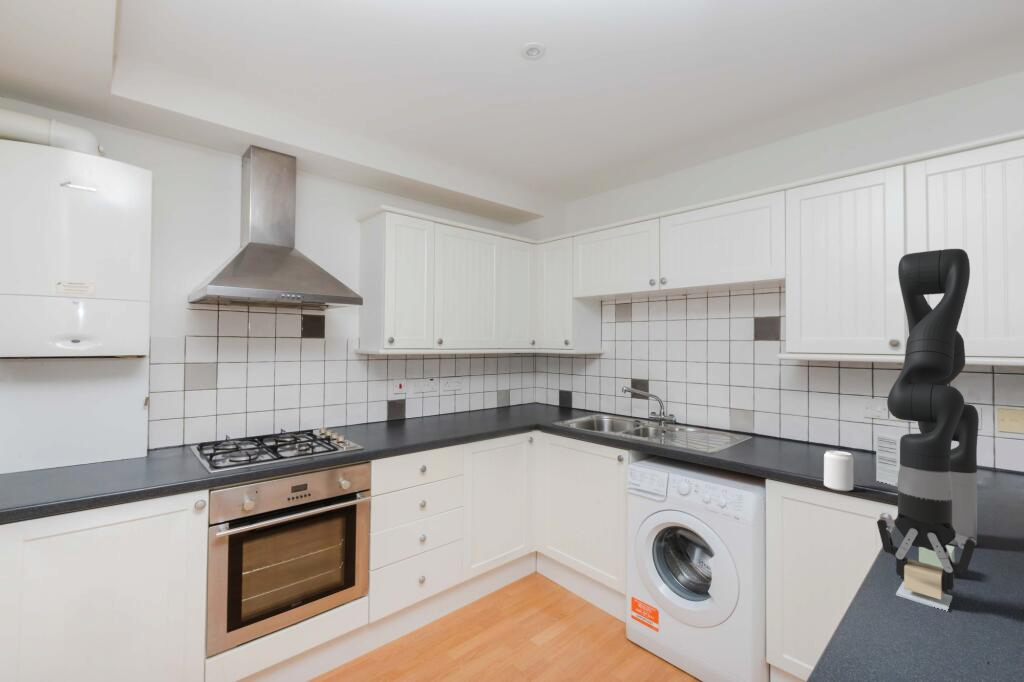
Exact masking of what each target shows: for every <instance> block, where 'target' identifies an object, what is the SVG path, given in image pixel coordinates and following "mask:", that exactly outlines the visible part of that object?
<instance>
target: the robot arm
mask: <svg viewBox="0 0 1024 682" xmlns="http://www.w3.org/2000/svg"><path fill="white" fill-rule="evenodd" d="M897 270H898V271H897V273H898V281H899V282H898V283H899V287H900V291H901V297H902V301H903V303H904V304H903V305H904V309H905V313H906V318H907V319H906V320H907V326H908V337H907V339H906V344H905V352H904V353H905V354H904V361H903V366H902V368H901V371H900V373H899V375H898V377H897V378H896V381H894V383H893V385H892V387H891V388H890V391H889V392H888V397H887V399H886V402H887V403H886V404H887V405H886V406H887V409H888V411H889V413H890V414H891V415H892V416H893V417H895V418H896V419H899V420H902V421H907V422H908V421H910V422H917V425H918V429H919V432H920V433H907V434H904V435H903V434H902V435H903V436H902V437H901V439H900V468H899V473H898V482H897V486H896V487H897V516H896V518H895V519H891V518H890V519H889V518H886V517H880V518H879V519H878V520H877V522H876V524H877V528H878V532H879V536H880V539H881V541H880V542H881V543H882V544H881V545H882V548H883V551H884V552H886V553H889V554H891V555H893V556H894V557H895V559H896V561H895V563H896V565H895V569H896V571H895V572H896V575H897V576H899V577H900V580H902V581H904V566H905V565H906V563H907V561H908V557H907V553H908V551H909V550H910V548H911V547H915V548H919V547H924V548H926V549H928V550H932V551H935V552H936V555H937V557H938V558H939V560H940V562H941V564H942V566H943V571H942V591H943V592H944V593H945V594H946V593H947V594H948V593H949V592H950V591H953V590H954V588H955V573H965V574H966V572H967V571H968V569H969V565H970V563H971V559H972V557H973V553H974V551H975V548H976V546H978V462H977V460H978V457H977V456H978V455H977V453H978V451H977V450H978V449H977V446H978V438H979V437H978V435H979V422H980V421H979V420H980V419H979V418H980V417H979V413H978V410H977V408H976V407H975V406H974V405H972V404H968V403H965V398H964V396H963V394H962V392H960V390H958V388H956V387H954V386H952V385H949V384H951V382H953V381H954V380H955V379H956V378H957V377H958V376H959V375H960V374H961V373H962V371H963V370H964V367H965V366H966V351H965V340H964V338H963V336H962V335H961V333H960V332H959V331H958V327H959V323H960V319H961V315H962V313H963V309H964V304H965V299H966V296H967V292H968V288H969V284H970V277H971V276H970V275H971V266H970V259H969V255H968V253H967V251H965V250H964V249H962V248H947V249H938V250H937V249H936V250H928V251H920V252H912V253H908V254H904V255H903V256H902V257H901V258H900V260H899V262H898V268H897ZM941 294H943V295H942V298H941V300H940V301H939V302H938V303H937V304H936V305H935V307H933V308H932V307H931V306H930V304H929V302H928V301H927V299H926V297H925V296H926V295H927V296H928V295H941ZM952 441H953V442H957V443H958V445H957V446H956V447H953V448H952V449H951V447H952ZM894 526H895V527H896V529H897V530H898V531H899V532H900V534H901V535H902V536H903V538H904V539H903V540H902V541H901V544H900V545H899V547H897V546H895V545H894V540H893V538H892V534H891V532H892V531H893V530H894ZM948 544H950V545H955V546H958V547H959V549H962V553H961V556H960V558H959V561H954V562H952V560H951V557H950V555H949V552H948V550H947V547H946V545H948Z"/></svg>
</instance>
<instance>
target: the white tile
mask: <svg viewBox="0 0 1024 682" xmlns="http://www.w3.org/2000/svg"><path fill="white" fill-rule="evenodd" d="M896 596H897V597H901V598H903V599H907V600H909V601H912V602H916V603H918V604H922V605H925V606H928V607H931V608H934V607H935V608H934V609H937V608H939V609H938V610H941V609H943V610H942V611H944V610H946V611H945V612H947V611H948V612H949V610H950V607H949V606H951V604H950V603H952V600H953V595H951V594H948V593H947V594H946V593H945V592H944V593H943V596H942V598H941V600H940V599H937V598H934V597H930V596H927V595H924V594H921V593H917V592H914V591H911V590H907V589H904V580H902V582H901V584H900V585H899V587H898V589H897V590H896V593H895V597H896ZM948 609H949V610H948Z"/></svg>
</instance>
